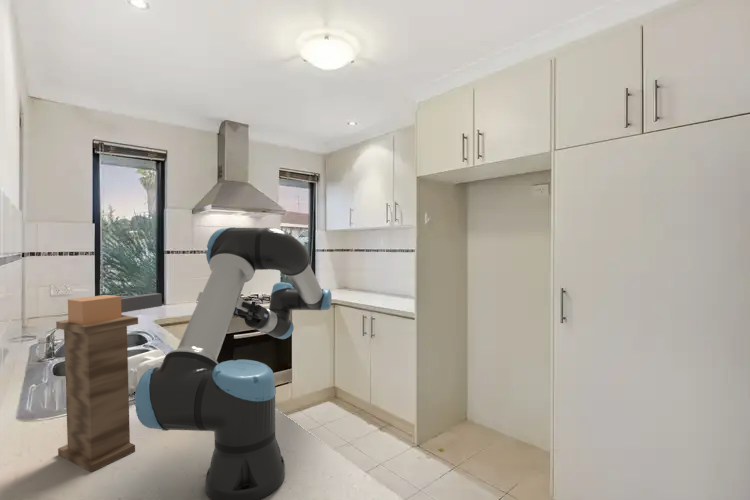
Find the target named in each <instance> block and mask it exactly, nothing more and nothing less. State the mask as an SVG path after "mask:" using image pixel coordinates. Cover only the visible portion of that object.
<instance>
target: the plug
mask: <svg viewBox="0 0 750 500" xmlns="http://www.w3.org/2000/svg"><path fill="white" fill-rule="evenodd" d="M162 301H163V298H162V293H159V292H156V293H155V292H153V293H146V294H140V295H139V294H137V295H132V296H130V295H129V296H124V297H123V296H120V295H112V294H111V295H110V294H102V295H94V296H88V297H87V296H86V297H79V298H70V299H67V318H68V319H67V320H68V322H71V323H76V324H81V325H84V324H90V323H96V322H101V321H107V320H113V319H118V318H122V315H123V314H122V313H128V312H133V311H134V312H135V311H140V310H145V309H151V308H159V307H163V302H162Z"/></svg>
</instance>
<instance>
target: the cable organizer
mask: <svg viewBox="0 0 750 500" xmlns="http://www.w3.org/2000/svg"><path fill="white" fill-rule="evenodd" d="M166 355H167V354H164V352H163V350H161V349H152V350H150V351H146V352H143V353H137V354H135V355H132V356H128V390H129V394H130V395H132V393H133V394H135V393H136V389H137V385H138V383H139V380H140V378H141V377H142V375H143V374H144V373H145V372H146V371H148V370H149V369H151V368H155V367H159V368H160V367H161V365H162V362H163V360H164V358H165V356H166ZM134 392H135V393H134Z"/></svg>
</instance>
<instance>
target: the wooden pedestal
mask: <svg viewBox="0 0 750 500" xmlns="http://www.w3.org/2000/svg"><path fill="white" fill-rule="evenodd" d="M55 323H56V324H55V325H56V326H55V327H56V329H57V330H63V335H64V336H63V338H64V339H63V342H64V343H63V344H64V345H63V346H64V368H65V369H64V370H65V371H64V372H65V373H64V374H65V395H66V396H65V400H66V403H65V405H66V407H65V408H66V432H67V434H66V437H67V438H66V439H67V444H66V445H63V446H60V447H58V449H57V455H58V456H60V457H61V458H63V459H66V460H67V461H70V462H71V463H73V464H75V465H77V466H79V467H81V468H82V469H85V470H87V471H89V472H91V473H93V472H95V471H97V470H99V469H101V468H103V467H105V466H107V465H109V464H111V463H114V462H115V461H117V460H120V459H123V458H125V457H126V456H128V455H130V454H132V453H134V452H136V445H135V444H134V443H131V437H130V430H131V429H130V406H129V405H130V403H129V402H130V395H129V390H128V357H129V356H128V353H129V352H128V351H129V350H128V327H129V326H134V325H138V324H139V317H136V316H130V315H125V314H124V315H123V314H122V318H118V319H113V320H107V321H101V322H96V323H90V324H84V325H81V324H76V323H71V322H68V319H64V320H58V321H56V322H55Z"/></svg>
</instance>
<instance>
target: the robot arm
mask: <svg viewBox="0 0 750 500" xmlns="http://www.w3.org/2000/svg"><path fill="white" fill-rule="evenodd" d="M206 248H207V250H206V251H205V252H206V253H205V257H206V261H207V264H208V265H209V270H210V271H211V273H210V275H209V277H208V279H207V282H206V283H205V285H204V288H203V290H202V292H201V291H199V293H198V296H197V298H196V302H197V304H196V306H195V308H194V310H193V312H192V315H191V317H190V319H189V321H188V323H187V326H186V328H185V330H184V332H183V334H182V337H181V339H180V341H179V343H178V346H177V347H176V349H174V350H172V351H169V352H167V354H165V355H166V356H165V358H164V360H163V362H162V365H161V367H160V368H159V367H155V368H151V369H149V370H148V371H146V372H145V373H144V374H143V375H142V377H141V378H140V380H139V383H138V385H137V389H136V392H135V393H134V406H135V413H136V416H137V419H138V421H139V422H140V423H141V425H142V426H144V427H146V428H148V429H152V430H153V429H154V430H155V429H156V430H162V431H167V432H168V431H193V432H194V431H197V432H214V434H213V435H214V448H213V449H214V450H213V453H212V456H211V460H210V466H209V468H208V470H207V471H206V475H205V493H206V495H207V497H208V498H209V499H210V500H262V499H265V498H266V497H268V496H269V495H271V494H272V493H274V492H275V491H277V490H278V489H279V487H281V486H282V483H283V482H284V480H285V476H286V467H285V465H286V464H285V460H284V458H283V455H282V453H281V449H280V447H279V444H278V441H277V436H276V393H277V390H276V384H275V373H274V372H273V371H274V370H273V369H271V367H270V366H268V365H267V364H266V363H264V362H260V361H257V360H252V359H243V358H242V359H236V360H234V359H230V360H226V361H222V362H220V363H219V362H218V357H219V354H220V352H221V349H222V346H223V343H224V341H225V338H226V334H227V332H228V330H229V328H230V324H231V321H232V319H233V317H238V318H240V319H243V320H244V323H245V325H246V326H247V327H249V328H252V329H254V330H257V331H260V334H267V335H269V336H271V337H273V338H277V339H279V340H285V339H287V338H289V337H291V335H292V334H293V332H294V327H295V326H294V322H292V320H290V315H291V311H294V310H295V311H325V310H326V311H328V310H330V309H331V306H332V300H333V299H332V292H331V290H330V289H325V288H321V285H320V283H319V281H318V279H317V277H316V275H315V273H314V271H313V269H312V267H311V265H310V255H309V253H308V250H307V249H306V247H305V246H304V245H303V244H302V243H301V242H300V240H298V239H297V238H296V237H294V236H293V235H292V234H290V233H288V232H286V231H285V230H283V229H279V228H276V227H226V228H225V227H223V228H219V229H217V230H216V231H214V232H213V233H212V234H211V236H210V237H209V239H208V242H207V244H206ZM257 270H258V271H259V270H260V271H262V270H266V271H267V270H273V271H274V270H276V271H279V272H280V273H281V274H283V275H284V276H287V278H288V279H289V280H290V282H291V283H289V282H283V281H282V282H281V281H279V282H276V283H275V284H273V286H272V290H271V294H270V298H269V299H270V300H269V301H270V302H269V307H268V308H266V307H264V306H262V305H261V304H257V303H256V302H257V301H251V302H249V301H247V300H246V299H243V298H242V297H240V296H241V294H242V291H243V288H244V286H245V283H248V282H250V281H251V280H252V279H253V278H254V275H255V273H256V271H257Z"/></svg>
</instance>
